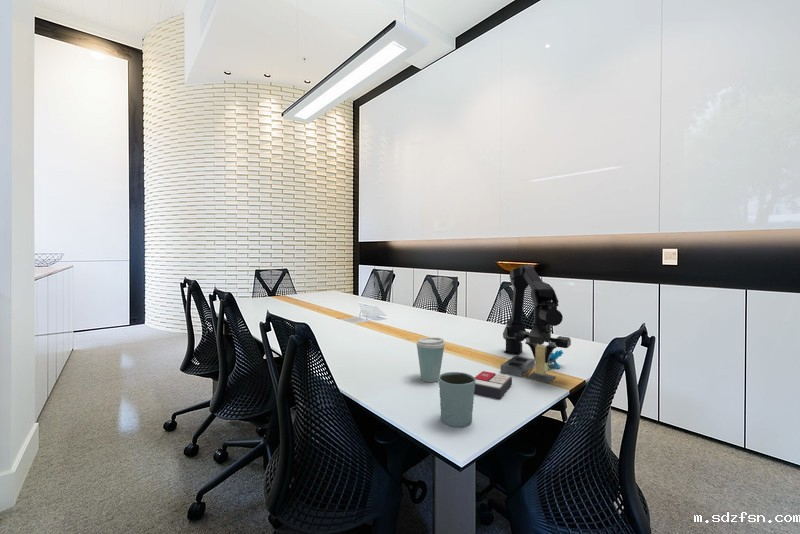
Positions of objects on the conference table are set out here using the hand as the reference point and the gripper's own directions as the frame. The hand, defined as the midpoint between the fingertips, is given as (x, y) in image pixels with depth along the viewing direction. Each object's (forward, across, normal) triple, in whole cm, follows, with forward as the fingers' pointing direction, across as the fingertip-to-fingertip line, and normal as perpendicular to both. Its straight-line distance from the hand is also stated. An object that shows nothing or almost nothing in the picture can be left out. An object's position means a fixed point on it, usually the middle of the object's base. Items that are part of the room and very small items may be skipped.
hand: (541, 361), depth 131 cm
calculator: (+7, -11, -21) cm, 25 cm away
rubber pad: (+6, 0, 0) cm, 6 cm away
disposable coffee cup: (+6, -32, -26) cm, 42 cm away
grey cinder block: (+6, -10, +4) cm, 12 cm away
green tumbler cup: (+6, -9, -48) cm, 49 cm away
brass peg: (+4, 0, 0) cm, 4 cm away
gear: (+6, -1, +15) cm, 17 cm away
